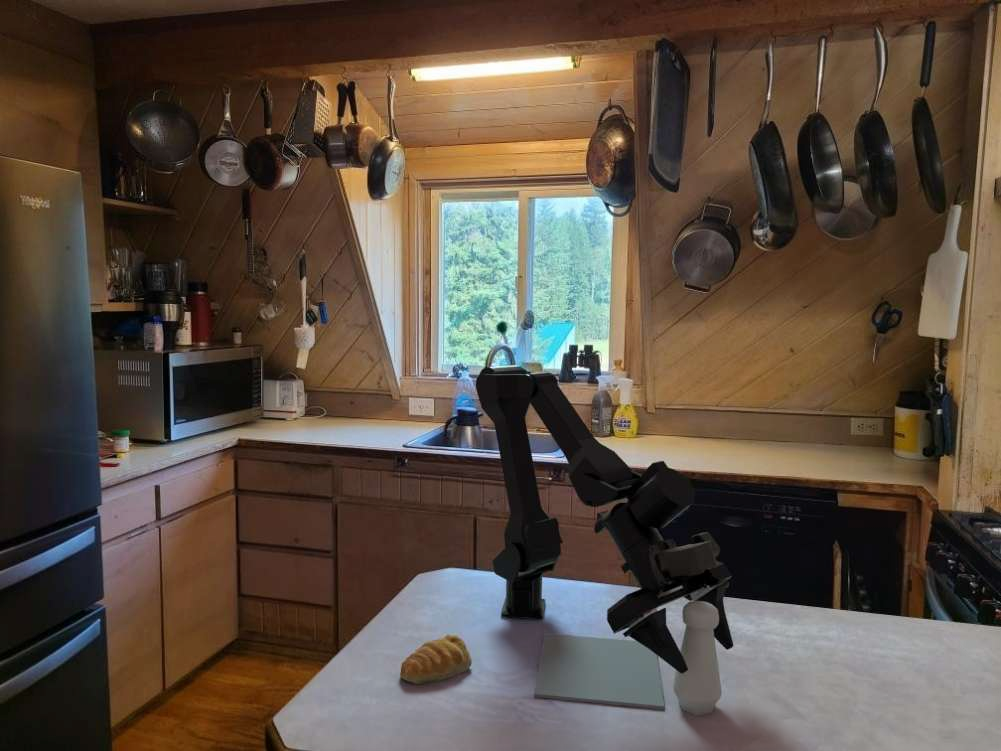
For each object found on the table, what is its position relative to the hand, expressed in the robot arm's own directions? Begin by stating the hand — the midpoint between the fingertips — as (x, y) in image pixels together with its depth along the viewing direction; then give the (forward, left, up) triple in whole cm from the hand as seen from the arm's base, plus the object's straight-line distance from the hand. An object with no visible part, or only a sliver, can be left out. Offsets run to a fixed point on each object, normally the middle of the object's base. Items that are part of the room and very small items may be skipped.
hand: (708, 659), depth 86 cm
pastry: (-4, -34, -7) cm, 35 cm away
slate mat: (-7, -13, -7) cm, 16 cm away
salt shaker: (-1, -1, -7) cm, 7 cm away
